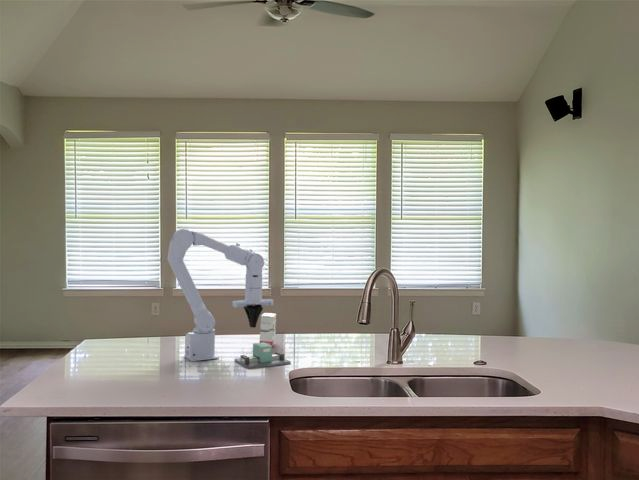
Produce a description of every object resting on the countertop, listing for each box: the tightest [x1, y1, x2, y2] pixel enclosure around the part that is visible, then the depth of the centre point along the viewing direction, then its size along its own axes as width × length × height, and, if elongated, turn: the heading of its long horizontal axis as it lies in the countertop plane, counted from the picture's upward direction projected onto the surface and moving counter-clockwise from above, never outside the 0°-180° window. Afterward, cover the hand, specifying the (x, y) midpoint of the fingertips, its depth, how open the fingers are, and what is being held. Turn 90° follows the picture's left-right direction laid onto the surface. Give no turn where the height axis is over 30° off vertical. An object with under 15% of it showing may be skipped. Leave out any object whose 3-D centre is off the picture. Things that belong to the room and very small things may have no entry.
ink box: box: [259, 312, 277, 348], centre depth 204 cm, size 9×5×12 cm, turn 177°
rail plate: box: [234, 350, 292, 370], centre depth 178 cm, size 15×11×3 cm
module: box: [252, 342, 273, 363], centre depth 179 cm, size 4×6×5 cm, turn 31°
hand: (252, 327), depth 188 cm, fingers closed
